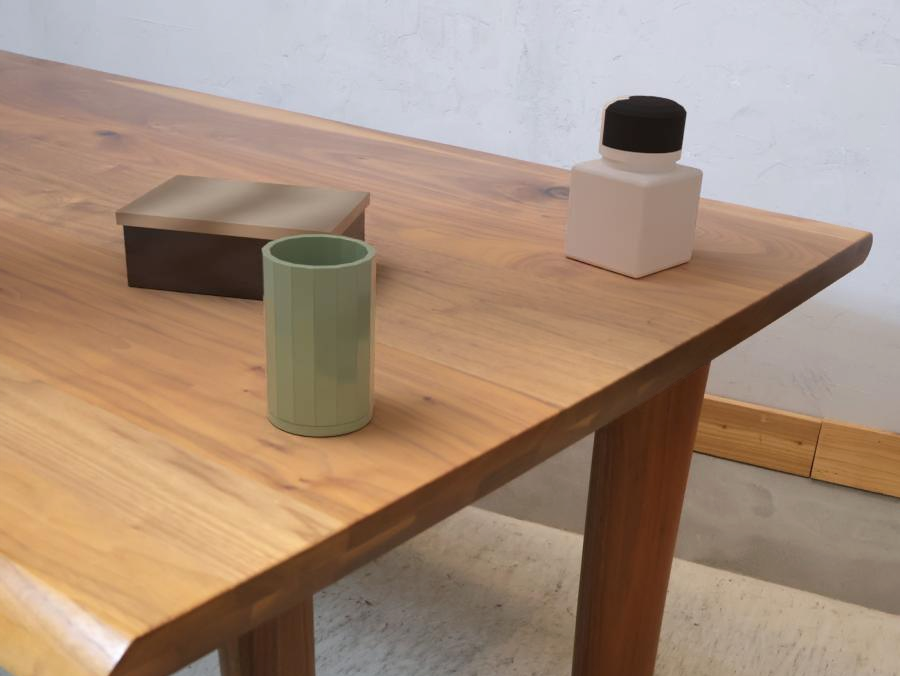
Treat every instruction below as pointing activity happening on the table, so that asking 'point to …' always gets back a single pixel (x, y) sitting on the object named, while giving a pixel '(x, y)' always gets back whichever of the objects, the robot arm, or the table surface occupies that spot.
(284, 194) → the shoebox
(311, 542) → the table surface
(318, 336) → the cup
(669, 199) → the medicine bottle
